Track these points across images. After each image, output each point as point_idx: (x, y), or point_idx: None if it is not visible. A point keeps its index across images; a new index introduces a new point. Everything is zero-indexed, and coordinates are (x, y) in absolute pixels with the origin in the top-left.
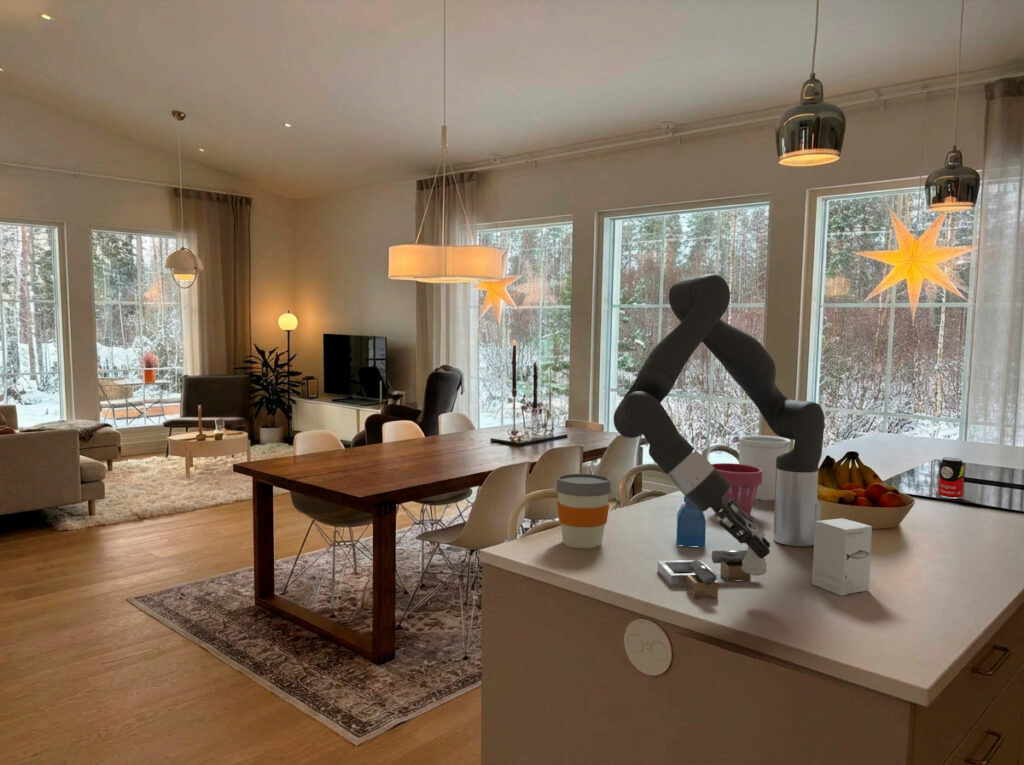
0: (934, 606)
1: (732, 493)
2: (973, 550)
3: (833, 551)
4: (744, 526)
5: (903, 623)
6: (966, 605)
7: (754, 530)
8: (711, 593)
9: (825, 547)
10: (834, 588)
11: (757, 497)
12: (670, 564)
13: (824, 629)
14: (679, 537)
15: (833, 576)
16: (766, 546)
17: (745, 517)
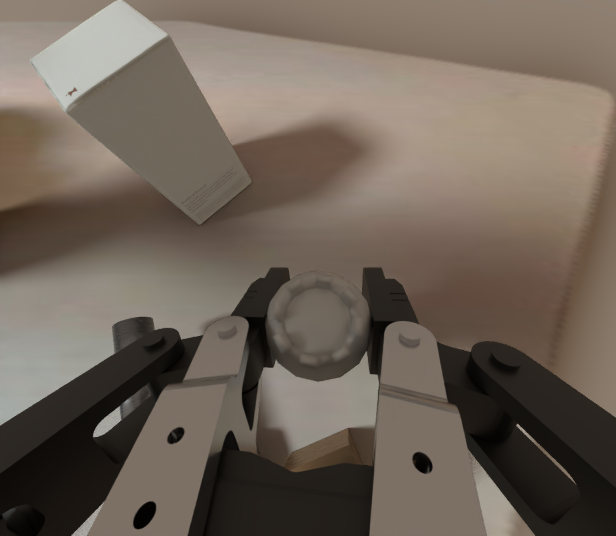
0: (262, 81)
1: None
2: (34, 50)
3: (190, 132)
4: (552, 428)
5: (350, 111)
6: (247, 55)
7: (356, 327)
8: (356, 453)
9: (168, 145)
10: (236, 187)
11: None
12: None
13: (439, 207)
14: None
15: (224, 174)
16: (370, 275)
17: (227, 408)
